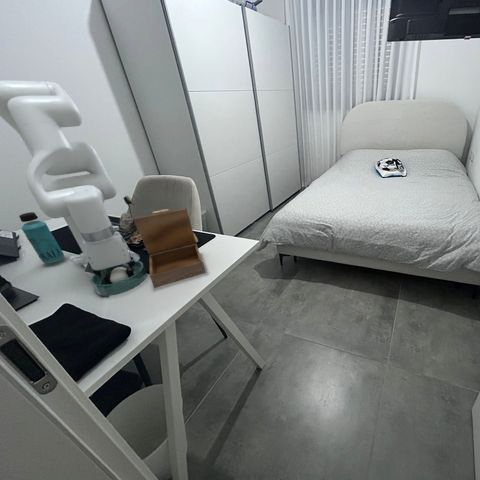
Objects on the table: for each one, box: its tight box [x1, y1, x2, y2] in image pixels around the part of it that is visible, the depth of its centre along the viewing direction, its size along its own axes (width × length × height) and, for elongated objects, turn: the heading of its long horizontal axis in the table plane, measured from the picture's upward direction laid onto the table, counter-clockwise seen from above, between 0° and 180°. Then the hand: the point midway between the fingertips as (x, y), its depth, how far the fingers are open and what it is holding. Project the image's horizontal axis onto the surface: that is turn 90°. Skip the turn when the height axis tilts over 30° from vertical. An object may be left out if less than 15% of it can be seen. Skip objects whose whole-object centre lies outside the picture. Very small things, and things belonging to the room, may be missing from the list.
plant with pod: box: [119, 195, 142, 245], centre depth 108 cm, size 8×11×20 cm
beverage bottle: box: [18, 211, 65, 264], centre depth 93 cm, size 6×7×20 cm
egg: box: [110, 267, 129, 284], centre depth 85 cm, size 7×5×5 cm
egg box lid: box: [133, 207, 197, 256], centre depth 91 cm, size 15×16×5 cm
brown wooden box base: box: [148, 243, 207, 289], centre depth 91 cm, size 15×16×5 cm
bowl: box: [89, 260, 148, 297], centre depth 85 cm, size 14×14×4 cm
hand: (122, 281), depth 86 cm, fingers closed on egg, 4 cm apart
